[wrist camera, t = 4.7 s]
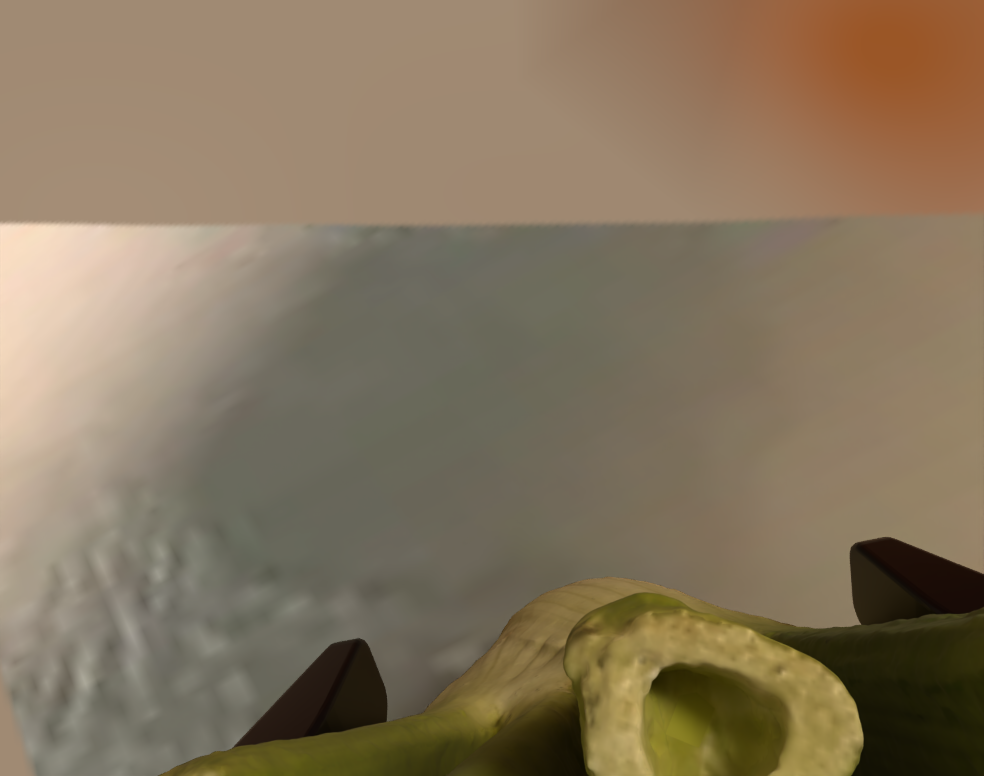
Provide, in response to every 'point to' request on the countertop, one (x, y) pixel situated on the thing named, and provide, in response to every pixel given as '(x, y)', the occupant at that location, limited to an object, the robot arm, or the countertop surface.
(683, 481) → the countertop surface
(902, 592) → the robot arm
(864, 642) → the fennel bulb
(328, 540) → the countertop surface
